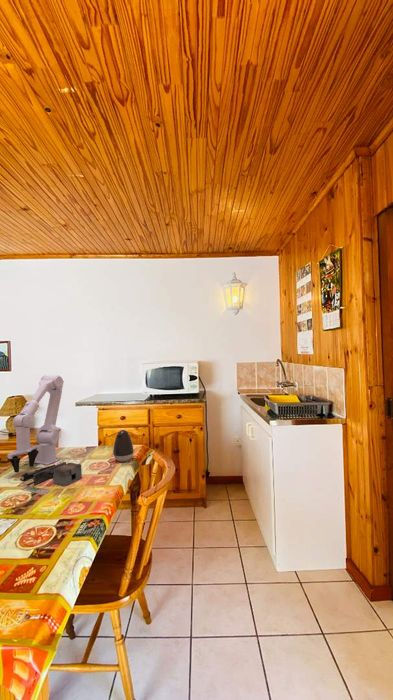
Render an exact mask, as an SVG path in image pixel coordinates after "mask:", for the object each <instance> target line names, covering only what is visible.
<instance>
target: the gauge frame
mask: <svg viewBox="0 0 393 700" xmlns="http://www.w3.org/2000/svg"><path fill="white" fill-rule="evenodd" d="M82 472H83V471H82V464H80V463H74V462H66V464H65V465H63V466H60V467H58V468H56V469H53V477H52V479H53V481H52V483H53V485H57V486H61V487H68V486H69V485H71V484H73V483H75V482H77V481H79V480H81V479H82V477H83V475H82ZM71 475H72V476H71ZM20 490H21V491H25V492H29V493H34V494H38V495H42V496H43V495H46V494H48V493H50V492H51V490H49V489H46V488H41V487H36V486H31V485H29V486H27V485H26V486H24V487H21V488H20Z"/></svg>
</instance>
